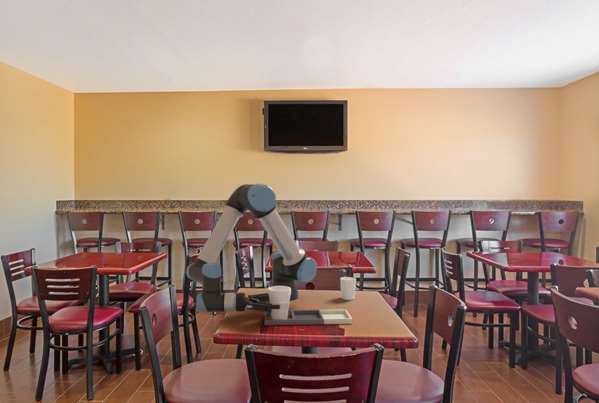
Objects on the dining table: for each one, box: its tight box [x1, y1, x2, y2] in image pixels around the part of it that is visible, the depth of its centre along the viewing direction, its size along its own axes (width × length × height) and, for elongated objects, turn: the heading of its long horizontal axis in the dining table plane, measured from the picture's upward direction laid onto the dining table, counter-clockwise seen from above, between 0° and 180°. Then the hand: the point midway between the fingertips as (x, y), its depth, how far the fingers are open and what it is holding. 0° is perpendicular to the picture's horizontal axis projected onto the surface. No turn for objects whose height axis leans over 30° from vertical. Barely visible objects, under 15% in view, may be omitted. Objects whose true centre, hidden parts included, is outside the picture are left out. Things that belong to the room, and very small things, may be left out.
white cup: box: [339, 276, 357, 301], centre depth 201 cm, size 8×8×10 cm
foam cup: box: [267, 286, 291, 320], centre depth 165 cm, size 10×9×13 cm
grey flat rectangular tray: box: [264, 308, 353, 326], centre depth 166 cm, size 35×13×2 cm, turn 95°
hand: (287, 301), depth 165 cm, fingers open, 13 cm apart
